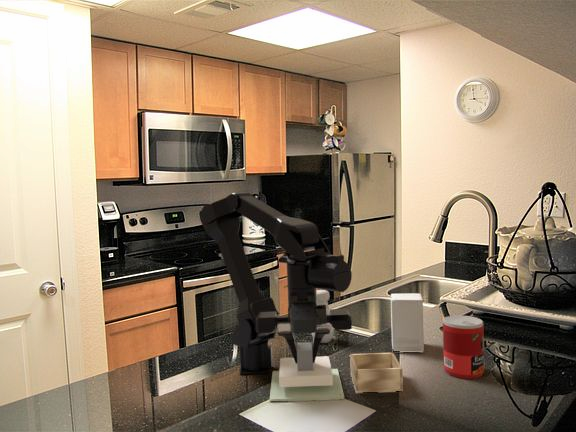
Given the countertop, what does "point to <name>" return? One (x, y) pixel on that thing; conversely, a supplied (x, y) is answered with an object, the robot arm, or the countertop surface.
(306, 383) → the lid
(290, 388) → the mat
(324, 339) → the salt shaker
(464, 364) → the canned food
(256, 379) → the countertop surface
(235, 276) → the robot arm
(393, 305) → the supplement box
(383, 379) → the box
